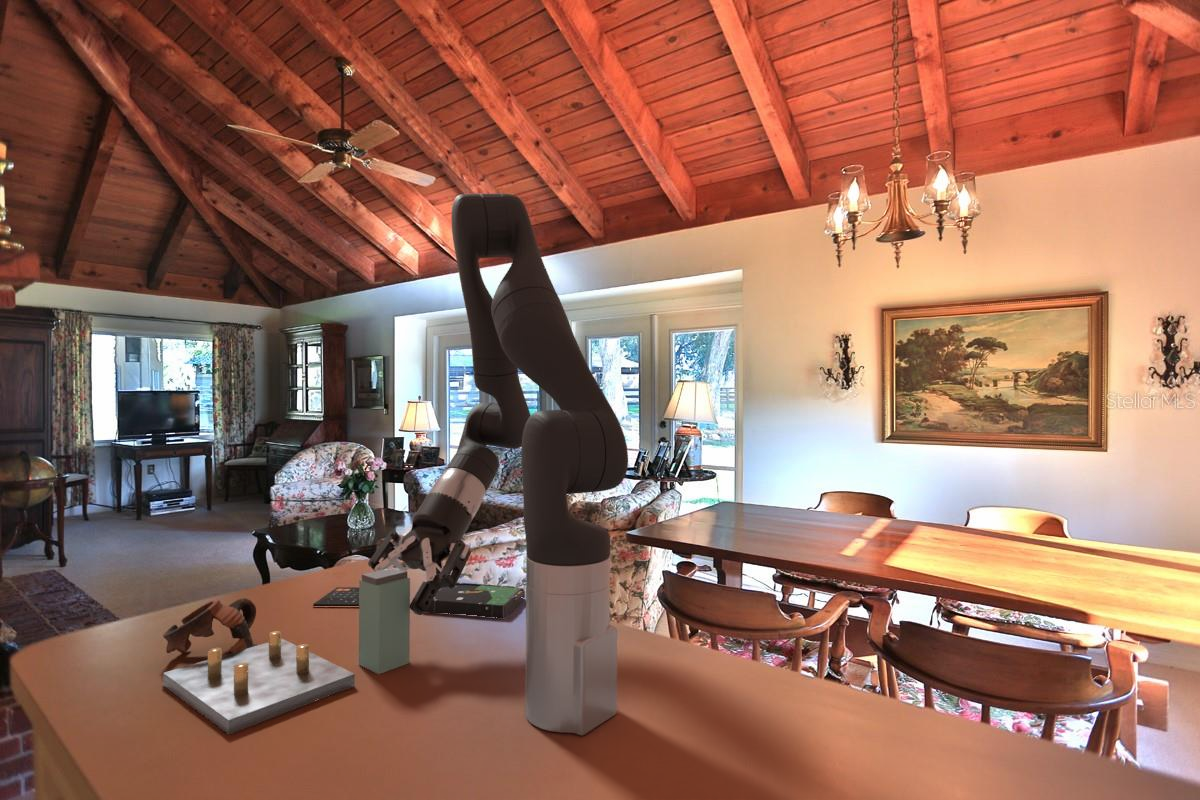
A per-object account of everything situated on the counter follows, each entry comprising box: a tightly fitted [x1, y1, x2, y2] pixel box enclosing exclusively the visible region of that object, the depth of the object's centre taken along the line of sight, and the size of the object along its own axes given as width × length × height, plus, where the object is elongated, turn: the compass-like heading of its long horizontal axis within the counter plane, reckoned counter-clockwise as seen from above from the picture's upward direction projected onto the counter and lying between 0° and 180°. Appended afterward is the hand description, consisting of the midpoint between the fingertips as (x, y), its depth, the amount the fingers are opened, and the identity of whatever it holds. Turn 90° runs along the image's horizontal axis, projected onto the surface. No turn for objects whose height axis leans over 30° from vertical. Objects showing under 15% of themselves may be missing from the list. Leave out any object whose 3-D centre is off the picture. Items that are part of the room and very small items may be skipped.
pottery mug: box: [162, 597, 257, 655], centre depth 86 cm, size 12×10×8 cm
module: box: [358, 566, 411, 675], centre depth 82 cm, size 4×5×12 cm
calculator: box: [312, 586, 359, 607], centre depth 109 cm, size 9×12×3 cm
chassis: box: [162, 630, 356, 736], centre depth 76 cm, size 18×14×4 cm
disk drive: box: [423, 581, 526, 620], centre depth 106 cm, size 10×3×15 cm
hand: (390, 606), depth 83 cm, fingers open, 8 cm apart
